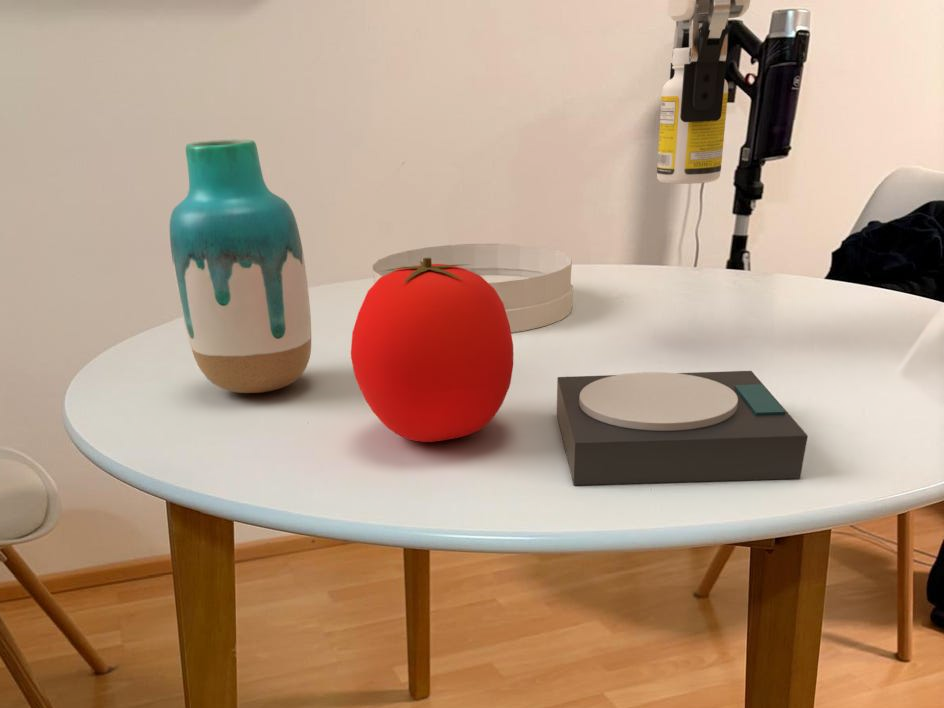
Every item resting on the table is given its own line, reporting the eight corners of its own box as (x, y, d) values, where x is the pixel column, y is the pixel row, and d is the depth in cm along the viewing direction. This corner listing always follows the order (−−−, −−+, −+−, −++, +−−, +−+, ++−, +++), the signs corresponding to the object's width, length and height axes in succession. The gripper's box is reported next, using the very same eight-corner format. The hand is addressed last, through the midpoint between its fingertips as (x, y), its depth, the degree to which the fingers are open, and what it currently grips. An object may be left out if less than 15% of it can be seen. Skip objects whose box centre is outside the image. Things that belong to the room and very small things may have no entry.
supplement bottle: (728, 177, 80) (742, 44, 74) (707, 186, 76) (720, 46, 71) (669, 176, 82) (678, 47, 77) (646, 184, 78) (654, 49, 73)
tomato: (444, 399, 76) (436, 237, 69) (547, 432, 69) (550, 255, 62) (324, 439, 69) (302, 264, 62) (425, 481, 62) (412, 287, 55)
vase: (304, 364, 86) (275, 133, 76) (332, 397, 78) (303, 142, 67) (190, 380, 83) (143, 142, 72) (206, 416, 75) (155, 152, 64)
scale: (746, 408, 72) (752, 362, 70) (800, 478, 60) (809, 426, 58) (556, 414, 72) (557, 368, 70) (573, 485, 60) (575, 433, 59)
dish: (511, 346, 89) (510, 292, 86) (333, 322, 99) (328, 274, 96) (605, 297, 104) (607, 250, 102) (443, 281, 114) (441, 238, 112)
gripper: (802, -195, 59) (763, 123, 69) (740, -148, 74) (716, 110, 84) (686, -188, 60) (664, 128, 69) (647, -142, 74) (634, 114, 84)
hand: (693, 116), depth 76 cm, fingers closed on supplement bottle, 5 cm apart
